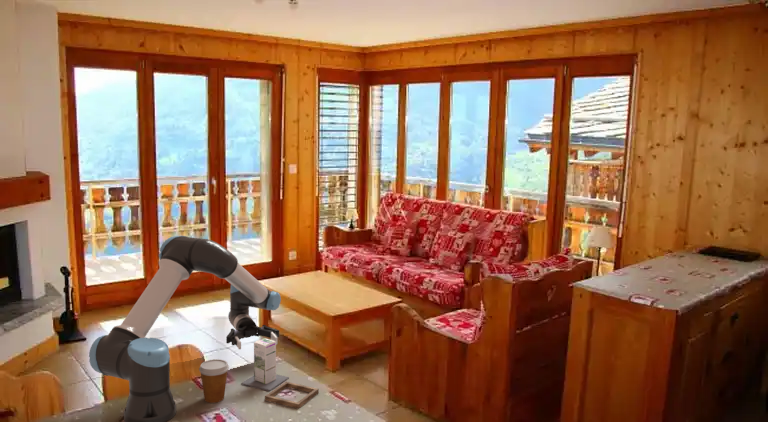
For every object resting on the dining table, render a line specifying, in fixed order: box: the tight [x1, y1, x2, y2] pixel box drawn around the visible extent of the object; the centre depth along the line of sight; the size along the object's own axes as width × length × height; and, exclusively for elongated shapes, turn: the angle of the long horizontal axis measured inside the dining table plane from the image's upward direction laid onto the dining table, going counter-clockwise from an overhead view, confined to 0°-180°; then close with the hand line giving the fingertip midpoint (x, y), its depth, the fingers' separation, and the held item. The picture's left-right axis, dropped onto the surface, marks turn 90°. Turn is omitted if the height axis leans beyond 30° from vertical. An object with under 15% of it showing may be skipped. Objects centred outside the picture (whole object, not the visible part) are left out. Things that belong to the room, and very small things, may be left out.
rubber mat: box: [240, 373, 290, 392], centre depth 211 cm, size 12×12×1 cm
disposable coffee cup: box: [198, 358, 230, 404], centre depth 196 cm, size 10×10×12 cm
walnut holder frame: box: [264, 381, 320, 409], centre depth 200 cm, size 13×13×2 cm
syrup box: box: [253, 337, 277, 384], centre depth 210 cm, size 6×6×14 cm
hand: (258, 343), depth 218 cm, fingers open, 13 cm apart
